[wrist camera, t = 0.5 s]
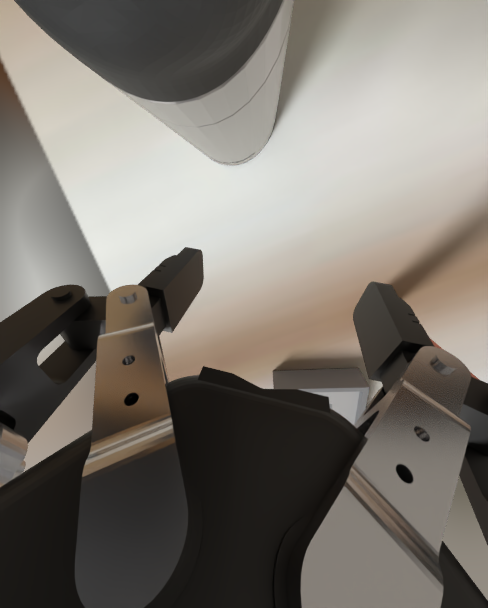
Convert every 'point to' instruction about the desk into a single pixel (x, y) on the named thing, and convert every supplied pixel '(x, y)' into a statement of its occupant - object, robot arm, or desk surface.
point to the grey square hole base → (330, 388)
